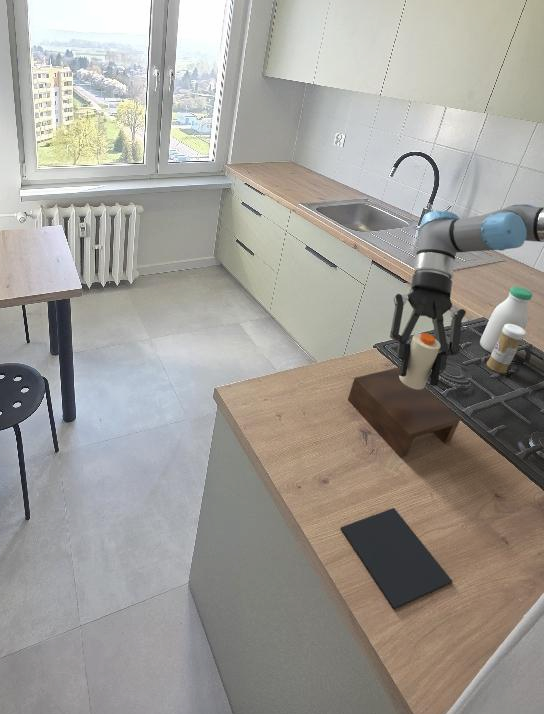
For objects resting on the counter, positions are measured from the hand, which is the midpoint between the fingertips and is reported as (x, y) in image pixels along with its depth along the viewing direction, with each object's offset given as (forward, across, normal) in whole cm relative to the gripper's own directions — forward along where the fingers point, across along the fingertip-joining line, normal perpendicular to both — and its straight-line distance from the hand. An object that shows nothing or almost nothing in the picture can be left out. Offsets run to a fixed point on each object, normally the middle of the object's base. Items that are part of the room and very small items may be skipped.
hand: (418, 380), depth 87 cm
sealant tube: (0, 0, -5) cm, 5 cm away
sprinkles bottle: (-14, -26, -37) cm, 47 cm away
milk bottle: (-21, -28, -44) cm, 56 cm away
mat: (+31, +2, +9) cm, 32 cm away
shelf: (+8, 0, -14) cm, 16 cm away
